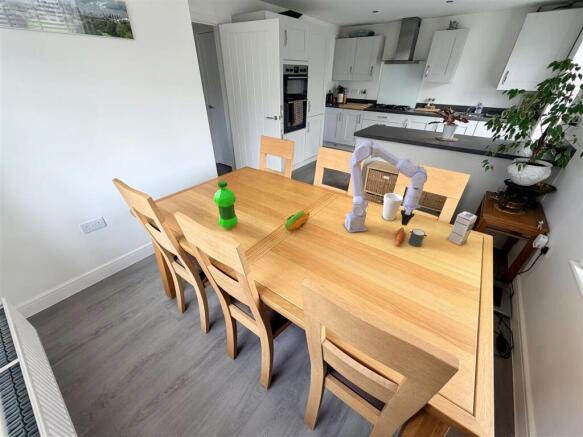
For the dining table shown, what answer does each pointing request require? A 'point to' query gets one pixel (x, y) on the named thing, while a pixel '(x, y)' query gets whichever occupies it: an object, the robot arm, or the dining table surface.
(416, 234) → the mug
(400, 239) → the carrot
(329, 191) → the dining table surface
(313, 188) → the dining table surface
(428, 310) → the dining table surface
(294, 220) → the hot dog
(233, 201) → the plastic bottle
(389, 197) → the foam cup
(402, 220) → the robot arm
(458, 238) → the syrup box
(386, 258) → the dining table surface
